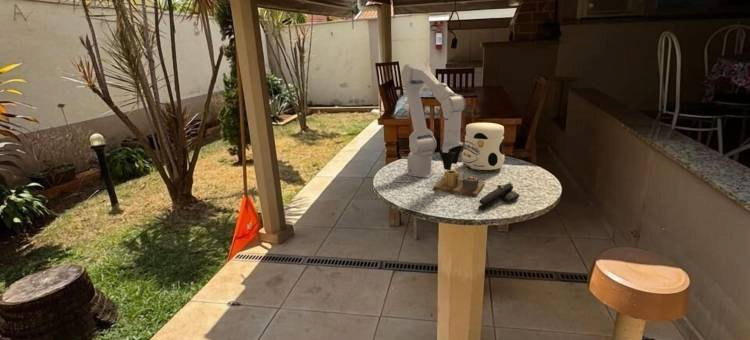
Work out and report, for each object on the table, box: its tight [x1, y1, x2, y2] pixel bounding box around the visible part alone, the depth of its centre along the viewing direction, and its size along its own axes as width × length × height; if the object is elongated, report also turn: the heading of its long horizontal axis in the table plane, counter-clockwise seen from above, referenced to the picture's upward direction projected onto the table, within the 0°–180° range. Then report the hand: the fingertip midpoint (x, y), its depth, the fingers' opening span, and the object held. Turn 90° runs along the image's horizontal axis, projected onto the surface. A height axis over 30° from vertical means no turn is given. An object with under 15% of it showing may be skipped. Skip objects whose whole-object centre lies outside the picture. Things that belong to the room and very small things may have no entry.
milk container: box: [461, 122, 505, 172], centre depth 162 cm, size 17×17×18 cm
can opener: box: [478, 182, 520, 211], centre depth 129 cm, size 18×7×6 cm, turn 126°
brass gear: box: [443, 169, 460, 187], centre depth 142 cm, size 5×5×5 cm
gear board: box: [432, 176, 485, 197], centre depth 142 cm, size 16×11×5 cm
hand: (450, 166), depth 141 cm, fingers open, 7 cm apart
